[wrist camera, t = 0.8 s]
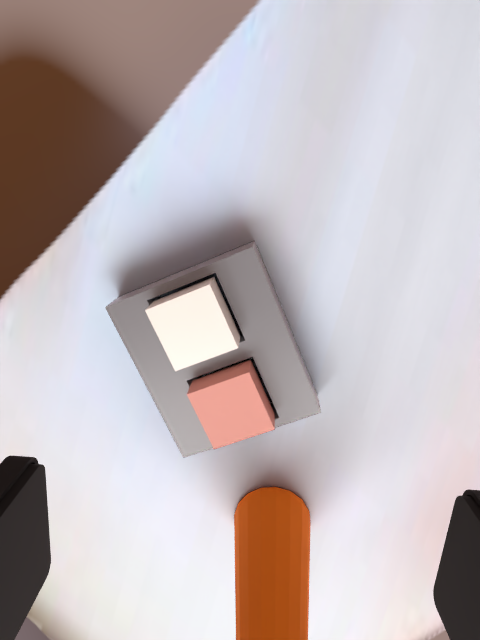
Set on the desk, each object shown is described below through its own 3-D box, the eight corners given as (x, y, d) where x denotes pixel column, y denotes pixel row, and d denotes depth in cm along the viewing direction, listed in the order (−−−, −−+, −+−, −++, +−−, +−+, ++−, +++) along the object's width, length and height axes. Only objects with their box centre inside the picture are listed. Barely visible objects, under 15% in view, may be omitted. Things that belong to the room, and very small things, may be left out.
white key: (214, 276, 33) (209, 284, 31) (240, 336, 34) (238, 348, 32) (153, 301, 34) (144, 310, 32) (181, 358, 35) (175, 371, 33)
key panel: (254, 240, 34) (252, 246, 32) (317, 394, 38) (321, 412, 35) (118, 297, 37) (105, 307, 34) (189, 437, 40) (183, 457, 37)
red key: (250, 359, 35) (249, 372, 32) (274, 413, 36) (274, 429, 34) (192, 380, 36) (186, 394, 33) (217, 432, 37) (213, 449, 35)
